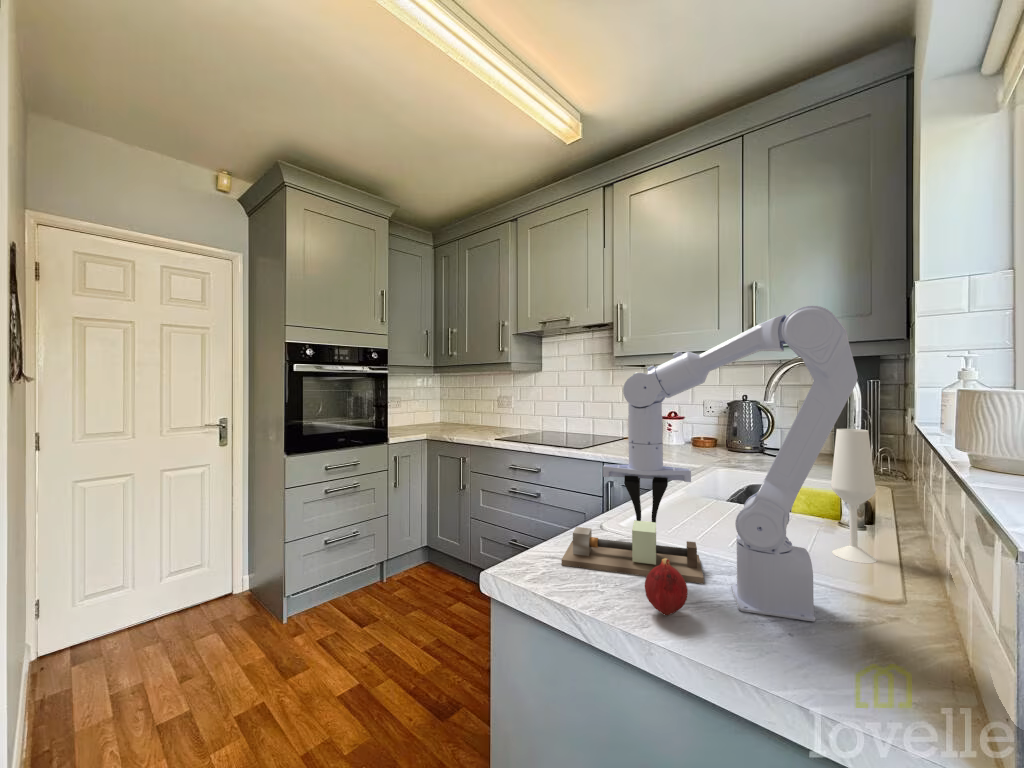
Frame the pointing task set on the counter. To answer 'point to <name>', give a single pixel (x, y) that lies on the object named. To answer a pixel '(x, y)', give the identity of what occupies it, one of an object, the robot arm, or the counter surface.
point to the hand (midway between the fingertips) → (646, 520)
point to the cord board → (628, 556)
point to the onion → (666, 588)
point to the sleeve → (644, 542)
